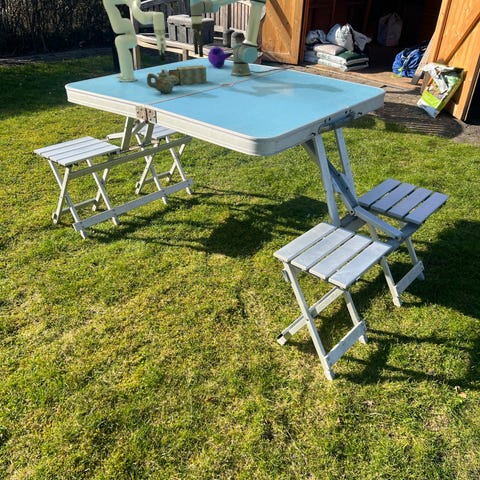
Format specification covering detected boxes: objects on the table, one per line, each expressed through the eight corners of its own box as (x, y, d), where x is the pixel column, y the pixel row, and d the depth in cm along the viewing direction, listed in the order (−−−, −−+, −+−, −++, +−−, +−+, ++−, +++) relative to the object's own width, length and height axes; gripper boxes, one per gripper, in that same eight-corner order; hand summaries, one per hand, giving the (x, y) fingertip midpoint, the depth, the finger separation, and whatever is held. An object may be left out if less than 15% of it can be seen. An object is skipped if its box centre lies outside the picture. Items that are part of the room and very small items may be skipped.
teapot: (178, 89, 310) (176, 66, 303) (181, 93, 301) (179, 69, 293) (147, 92, 305) (144, 69, 297) (149, 95, 295) (147, 71, 288)
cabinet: (181, 85, 324) (179, 69, 318) (178, 82, 332) (176, 67, 327) (206, 83, 329) (206, 67, 323) (203, 80, 337) (202, 65, 332)
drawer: (160, 85, 320) (159, 72, 315) (158, 83, 327) (156, 70, 323) (192, 82, 326) (192, 69, 322) (190, 80, 334) (189, 67, 329)
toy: (218, 69, 373) (208, 68, 396) (237, 62, 376) (226, 61, 399) (212, 50, 365) (203, 50, 388) (232, 42, 368) (221, 43, 392)
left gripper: (167, 33, 302) (170, 62, 311) (163, 31, 314) (165, 59, 324) (156, 33, 300) (159, 62, 309) (152, 31, 312) (155, 59, 321)
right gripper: (206, 24, 303) (208, 57, 314) (197, 21, 323) (199, 53, 334) (196, 24, 301) (198, 58, 312) (187, 22, 321) (189, 53, 332)
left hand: (162, 60), depth 316 cm, fingers closed
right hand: (198, 55), depth 323 cm, fingers open, 13 cm apart
